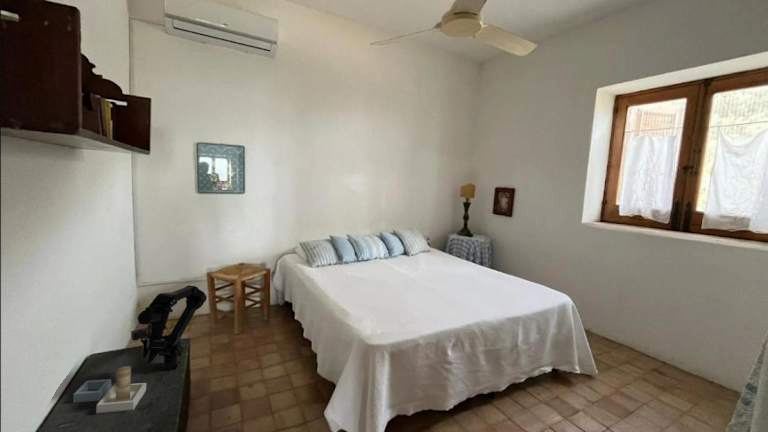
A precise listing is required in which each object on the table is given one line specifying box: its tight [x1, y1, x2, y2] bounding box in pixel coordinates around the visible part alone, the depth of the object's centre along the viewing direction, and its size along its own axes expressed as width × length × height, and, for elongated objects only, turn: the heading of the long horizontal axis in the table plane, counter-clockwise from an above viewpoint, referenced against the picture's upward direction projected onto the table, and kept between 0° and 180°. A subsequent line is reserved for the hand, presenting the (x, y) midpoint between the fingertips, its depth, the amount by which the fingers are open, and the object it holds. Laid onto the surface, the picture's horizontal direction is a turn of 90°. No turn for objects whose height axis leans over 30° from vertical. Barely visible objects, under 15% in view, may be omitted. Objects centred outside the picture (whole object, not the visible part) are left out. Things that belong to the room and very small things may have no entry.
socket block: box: [72, 378, 112, 404], centre depth 126 cm, size 8×8×4 cm
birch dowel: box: [115, 365, 132, 402], centre depth 123 cm, size 4×4×13 cm
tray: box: [95, 382, 147, 415], centre depth 124 cm, size 12×12×4 cm
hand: (146, 360), depth 133 cm, fingers open, 9 cm apart
